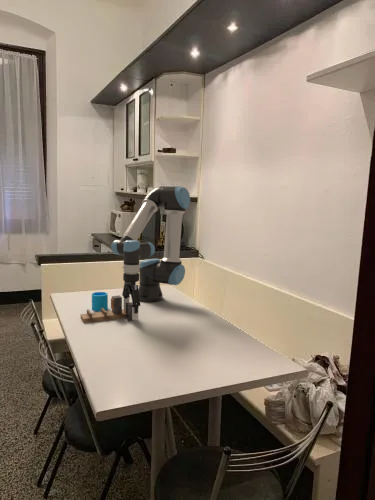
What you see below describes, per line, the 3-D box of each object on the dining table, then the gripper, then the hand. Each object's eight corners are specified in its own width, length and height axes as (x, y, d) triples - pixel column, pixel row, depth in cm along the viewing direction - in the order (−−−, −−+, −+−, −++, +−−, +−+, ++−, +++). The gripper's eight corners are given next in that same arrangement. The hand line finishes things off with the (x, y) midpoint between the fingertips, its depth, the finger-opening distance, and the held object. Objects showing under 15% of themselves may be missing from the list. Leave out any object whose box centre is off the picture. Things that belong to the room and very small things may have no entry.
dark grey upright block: (134, 317, 193) (134, 301, 191) (137, 320, 189) (137, 304, 188) (125, 318, 191) (125, 302, 189) (128, 321, 187) (128, 305, 186)
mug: (109, 310, 203) (109, 295, 202) (93, 312, 200) (93, 296, 198) (103, 304, 214) (103, 289, 213) (88, 305, 210) (88, 291, 209)
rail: (128, 312, 200) (128, 293, 199) (132, 316, 194) (132, 297, 192) (80, 318, 190) (80, 298, 188) (83, 322, 183) (83, 302, 182)
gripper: (116, 268, 196) (115, 308, 199) (131, 278, 173) (131, 324, 176) (130, 267, 199) (130, 307, 202) (147, 277, 176) (146, 322, 179)
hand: (130, 315), depth 189 cm, fingers open, 13 cm apart
